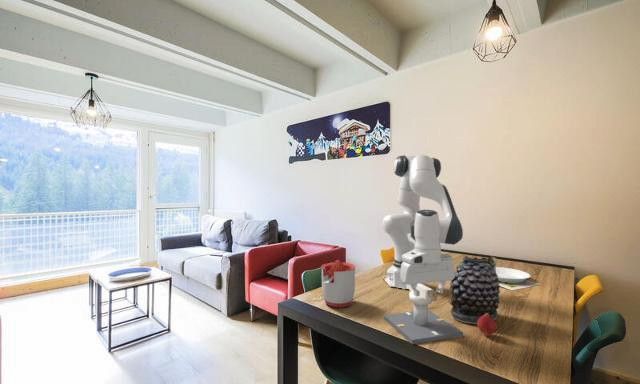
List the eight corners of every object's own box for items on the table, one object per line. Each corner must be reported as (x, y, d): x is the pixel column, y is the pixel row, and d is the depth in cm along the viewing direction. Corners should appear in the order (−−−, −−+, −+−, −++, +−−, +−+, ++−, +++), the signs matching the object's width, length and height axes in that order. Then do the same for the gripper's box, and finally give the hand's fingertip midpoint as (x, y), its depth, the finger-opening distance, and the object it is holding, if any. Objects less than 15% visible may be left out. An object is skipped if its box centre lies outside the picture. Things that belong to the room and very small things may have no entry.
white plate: (472, 278, 167) (472, 272, 167) (487, 270, 184) (486, 264, 184) (524, 288, 148) (524, 281, 148) (535, 278, 165) (535, 272, 165)
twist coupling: (400, 294, 113) (400, 280, 113) (418, 293, 115) (418, 278, 115) (423, 309, 99) (422, 293, 99) (443, 307, 101) (442, 290, 101)
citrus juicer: (311, 305, 129) (311, 261, 129) (335, 294, 142) (334, 254, 142) (340, 314, 119) (339, 266, 119) (362, 302, 132) (361, 258, 132)
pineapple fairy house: (478, 307, 125) (477, 249, 125) (511, 321, 111) (510, 256, 111) (440, 314, 118) (439, 253, 118) (470, 331, 104) (469, 261, 104)
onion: (473, 332, 103) (473, 309, 103) (489, 331, 103) (488, 309, 103) (484, 340, 97) (484, 316, 97) (500, 339, 97) (500, 316, 97)
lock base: (383, 319, 114) (383, 295, 114) (427, 313, 119) (427, 290, 119) (412, 344, 95) (411, 315, 95) (463, 336, 100) (462, 308, 100)
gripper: (446, 252, 109) (447, 288, 108) (397, 255, 103) (398, 294, 103) (458, 255, 102) (459, 294, 102) (407, 259, 97) (408, 300, 97)
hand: (428, 294), depth 103 cm, fingers open, 8 cm apart
